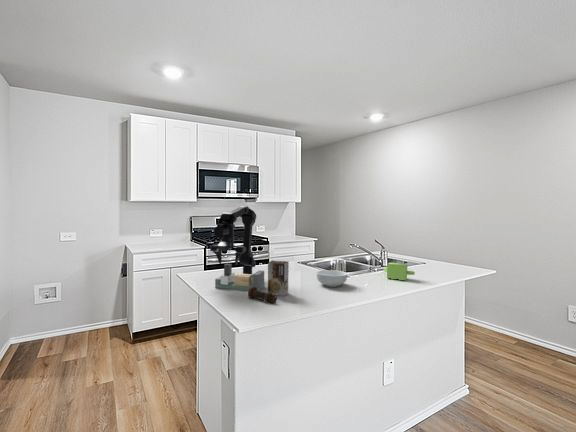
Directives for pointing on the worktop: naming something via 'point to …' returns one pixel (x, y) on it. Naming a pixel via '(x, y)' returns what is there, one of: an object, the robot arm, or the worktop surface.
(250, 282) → the block
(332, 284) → the cereal bowl
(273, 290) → the coffee box
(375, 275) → the worktop surface
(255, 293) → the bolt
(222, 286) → the press frame
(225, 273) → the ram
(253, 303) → the worktop surface
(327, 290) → the worktop surface
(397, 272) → the gearbox
